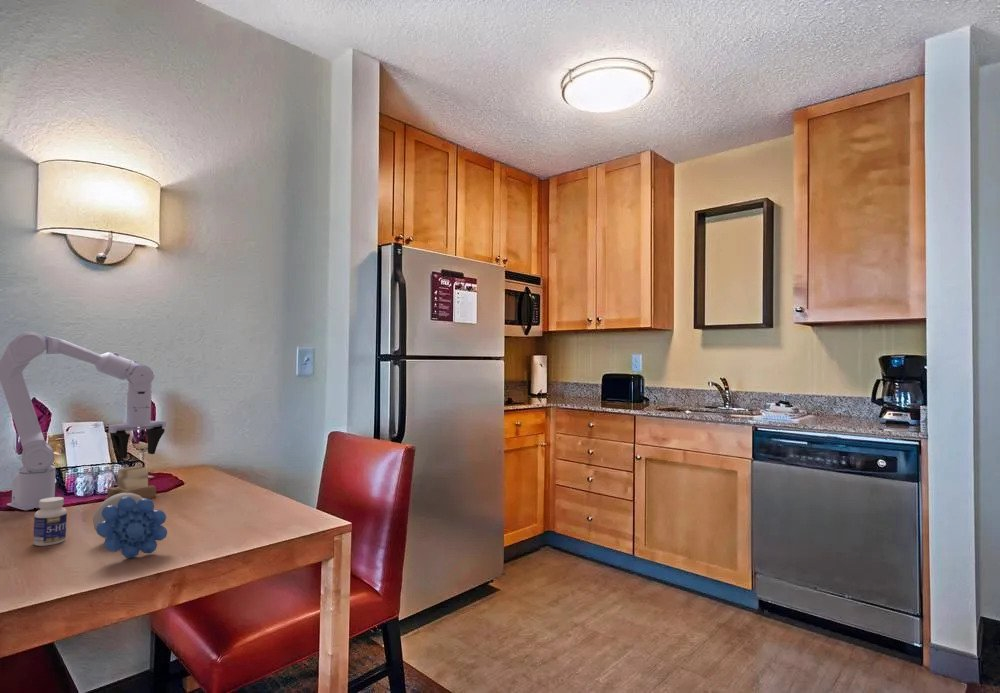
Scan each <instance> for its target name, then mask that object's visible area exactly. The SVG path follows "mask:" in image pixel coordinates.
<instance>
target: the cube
mask: <svg viewBox="0 0 1000 693" xmlns="http://www.w3.org/2000/svg"><path fill="white" fill-rule="evenodd" d="M117 470H118V471H117V487H118V488H120V489H125V490H133V489H138V488H143V487H148V485H149V467H144V466H139V465H136V466H135V465H134V466H128V467H123V468H118V469H117Z"/></svg>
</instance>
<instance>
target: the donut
mask: <svg viewBox="0 0 1000 693" xmlns="http://www.w3.org/2000/svg"><path fill="white" fill-rule="evenodd" d="M123 497H132V498H133V499H134V500H135V501H136V504H137V502H138V501H139V500H141V499H143V498H142V497H141V496H139V495H137V494H133V493H120V494H116V495H113V496H111V497H109V498H108V499H107V498H106V499H105V500H104V501H103V502H101V503H100V504H99V506H97V509H96V510H95V512H94V514H93V516H94V517H93V521H92V522H93V529H94V531H95V532H96V533H97V531H96V528H97V525H98V524H99V523H101V522H103V521H106V520H105V519H104V518H103V517H102V511H103V509H104V508H105V507H107V506H109V505H111V506H116V507H118V502H119V500H120V499H121V498H123ZM97 535H98V536H100V535H99V534H98V533H97ZM102 538H103V539H104V540H105V539H106V538H108V537H102Z"/></svg>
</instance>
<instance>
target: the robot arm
mask: <svg viewBox="0 0 1000 693" xmlns="http://www.w3.org/2000/svg"><path fill="white" fill-rule="evenodd" d="M45 351H46V352H45ZM44 352H45V353H46V355H54V354H55V355H59V354H62V355H64V356H68V357H71V358H74V359H77V360H80V361H82V362H85V363H89V364H92V365H94V366H95V368H96V370H97V372H99V373H101V374H105V375H108V376H110V377H112V378H113V377H114V378H115V379H118V380H123V381H124V380H126V381H127V382H128V383H127V384H128V387H127V388H128V389H127V394H126V421H125V422H123V423H118V424H111V425H110V424H109V425H108V433H110V437H111V438H112V440H113V442H114V444H115V446H116V448H117V451H118V455H119V459H127V458H128V457H127V456H128V444H129V440H130V437H131V434H130V433H127V432H129V431H140V430H142V431H143V430H145V431H146V438H147V454H148V455H155V454H156V450H157V447H158V444H159V442H160V440H161V438H162V436H163V435H164V433H165V430H166V429H165V428H167V420H151V417H152V415H151V414H152V382H153V381H154V379H155V374H154V371H153V369H152V368H151V367H149V366H148V365H144V364H142V363H138V360H136V359H133V360H131V359H128V358H126V357H123V356H120V353H119V352H116V351H114V352H113V353H112V352H110V351H108V352H105V353H101V354H100V353H98V352H96V351H92V350H90V349H88V348H85V347H83V346H80V345H77V344H75V343H73V342H70V341H67V340H64V339H62V338H59V337H55V336H54V337H53V336H49V335H45V334H44V335H43V336H42V335H41V334H40V333H38V332H34V331H26V332H22V333H20V334H18V335H17V336H16V337H15V338H14V339H13V340H12V341H11V342H9V343H8V345H7V347H6V349H5V351H4V352H3V354H2V356H1V359H0V384H1V387H2V390H3V393H4V397H5V398H6V399H5V400H6V401H7V404H8V407H9V410H10V414H11V417H12V419H13V422H14V425H15V428H16V432H17V435H18V439H19V441H20V444H21V447H22V451H21V463H22V467H20V468H19V469H18V472H17V473H16V474H15V475H14V477H13V478H12V484H11V485H12V486H11V487H12V488H11V489H12V490H11V502H9V503H6V505H7V507H12V508H15V509H19V510H21V511H22V510H23V511H29V510H34V508H36V509H40V508H39V501H40V500H41V499H45V498H51V497H56V495H55V493H56V469H57V468H56V466H55V465H53V463H54V461H55V457H56V456H55V453H54V450H53V447H52V446H51V445H50V444H49V443H48V442H47V441H46V440H45V438H44V434H43V431H42V429H41V426H40V423H39V419H38V416H37V413H36V410H35V407H34V405H33V400H32V399H31V395H30V392H29V390H28V387H27V384H26V381H25V378H24V375H23V371H24V370H25V369H26V368H27V366H28V365H29V364H30V363H31V361H33V360H34V359H36V358H37V357H39V356H40V355H42V354H44Z"/></svg>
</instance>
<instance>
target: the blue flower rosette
mask: <svg viewBox="0 0 1000 693" xmlns="http://www.w3.org/2000/svg"><path fill="white" fill-rule="evenodd" d="M154 508H155V504H154V502H153V501H152V499H144V498H143V499H141V500H139V501H138V502H137V504H136V501H135V500H134V499H133V498H132V497H123V498H121V499H120V500H119V502H118V507H116V506H111V505H109V506H107V507H105V508H104V509H103V511H102V517H103V518H104V519H105V520H106V521H103V522H101V523H99V524H98V525H97V528H96V530H95V532H96V531H97V532H96V533H97V535H98V534H99V535H98V536H100V537H101V538H103V537H108V538H106V539H104V542H103V547H104V548H105V549H106V550H107V551H108V552H112V553H114V552H115V553H117V552H118V551H120V553H121V555H122V556H123V557H124V558H126V559H133V558H136V557H137V556H138V555H139V553H140V551H141V552H142V553H143V554H152V553H153V552H154V551H156V549H157V546H158V544H157V543H158V542H157V541H162V540H164V539H166V537H167V535H168V530H167V528H166V527H165V526H164V525H162V524H164V523H165V522H166V520H167V514H166V513H165V512H164V511H163V510H161V509H154Z"/></svg>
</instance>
